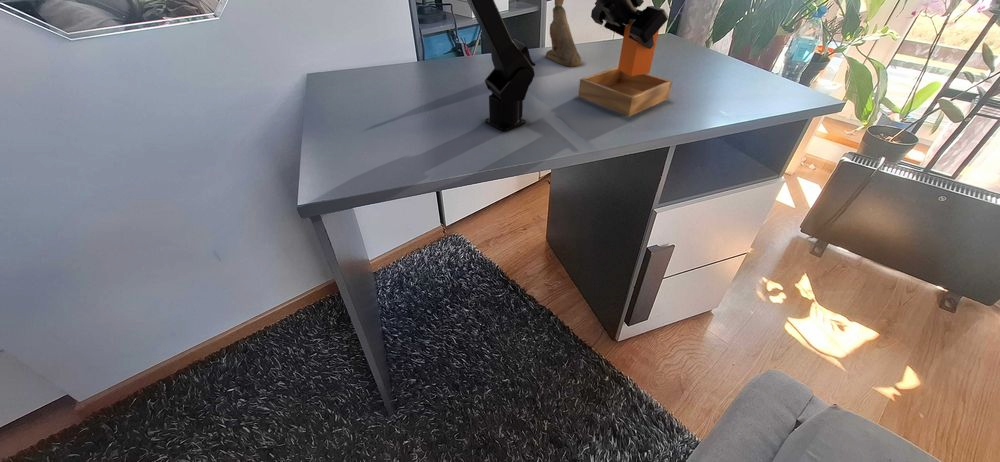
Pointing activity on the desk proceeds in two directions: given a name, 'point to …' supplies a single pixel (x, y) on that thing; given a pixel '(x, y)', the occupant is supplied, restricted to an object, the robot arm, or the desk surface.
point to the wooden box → (624, 90)
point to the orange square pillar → (635, 55)
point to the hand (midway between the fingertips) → (644, 43)
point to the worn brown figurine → (562, 39)
